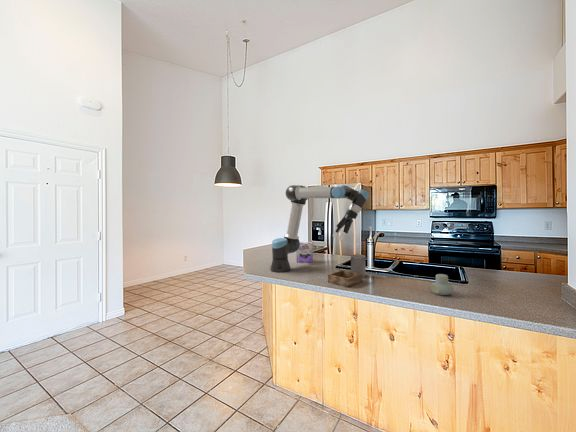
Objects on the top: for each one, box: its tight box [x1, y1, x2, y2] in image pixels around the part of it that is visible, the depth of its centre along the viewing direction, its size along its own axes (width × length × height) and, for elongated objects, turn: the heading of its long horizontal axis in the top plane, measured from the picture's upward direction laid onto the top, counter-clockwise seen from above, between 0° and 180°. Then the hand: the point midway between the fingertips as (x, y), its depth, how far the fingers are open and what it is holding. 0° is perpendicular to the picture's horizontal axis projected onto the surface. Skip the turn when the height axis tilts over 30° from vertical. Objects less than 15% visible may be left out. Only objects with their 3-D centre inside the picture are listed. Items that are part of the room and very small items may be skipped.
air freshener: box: [429, 273, 455, 296], centre depth 146 cm, size 11×8×10 cm
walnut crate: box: [327, 269, 363, 288], centre depth 171 cm, size 15×15×5 cm
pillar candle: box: [350, 253, 366, 278], centre depth 185 cm, size 10×10×15 cm
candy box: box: [296, 241, 314, 263], centre depth 231 cm, size 14×6×16 cm, turn 80°
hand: (336, 238), depth 181 cm, fingers open, 13 cm apart
